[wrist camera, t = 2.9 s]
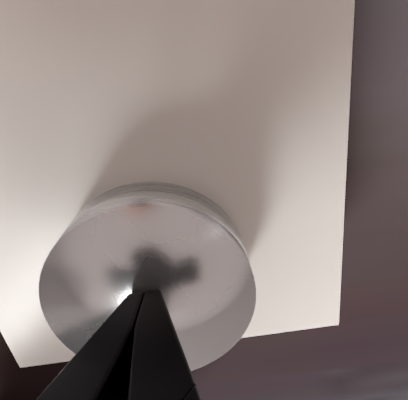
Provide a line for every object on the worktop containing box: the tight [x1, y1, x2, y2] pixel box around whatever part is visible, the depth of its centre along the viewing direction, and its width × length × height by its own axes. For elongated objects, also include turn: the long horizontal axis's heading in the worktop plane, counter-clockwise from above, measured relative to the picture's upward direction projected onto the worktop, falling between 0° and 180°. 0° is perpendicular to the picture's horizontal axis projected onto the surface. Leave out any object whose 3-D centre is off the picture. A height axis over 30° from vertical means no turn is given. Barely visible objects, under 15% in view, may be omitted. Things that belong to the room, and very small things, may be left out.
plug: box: [39, 182, 256, 371], centre depth 11 cm, size 6×6×5 cm
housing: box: [0, 0, 355, 368], centre depth 10 cm, size 21×12×4 cm, turn 8°
